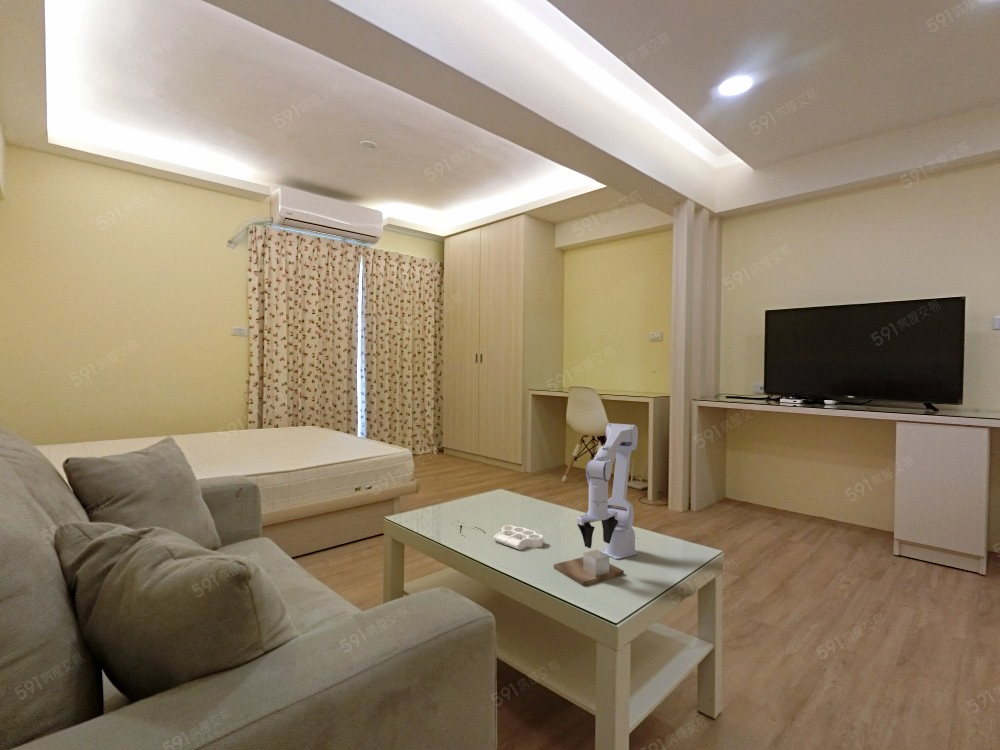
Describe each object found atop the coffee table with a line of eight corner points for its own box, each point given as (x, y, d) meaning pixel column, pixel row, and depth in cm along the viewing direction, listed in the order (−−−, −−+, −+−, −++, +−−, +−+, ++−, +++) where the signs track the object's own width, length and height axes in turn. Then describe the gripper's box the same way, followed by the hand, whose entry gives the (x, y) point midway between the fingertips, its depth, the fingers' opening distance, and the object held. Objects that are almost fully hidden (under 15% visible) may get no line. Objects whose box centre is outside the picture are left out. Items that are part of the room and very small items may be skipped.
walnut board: (592, 558, 155) (592, 542, 155) (623, 574, 143) (623, 557, 143) (553, 568, 147) (554, 551, 147) (583, 586, 135) (583, 568, 135)
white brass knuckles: (487, 540, 171) (513, 531, 182) (524, 554, 159) (551, 543, 169) (487, 531, 171) (513, 522, 182) (524, 544, 159) (551, 534, 169)
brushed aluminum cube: (596, 566, 146) (596, 549, 146) (609, 573, 141) (609, 555, 141) (583, 570, 143) (583, 552, 143) (595, 577, 138) (595, 559, 138)
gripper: (606, 493, 149) (605, 536, 149) (570, 499, 142) (570, 544, 142) (622, 499, 143) (622, 543, 143) (586, 505, 136) (585, 552, 136)
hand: (597, 544), depth 142 cm, fingers open, 7 cm apart
